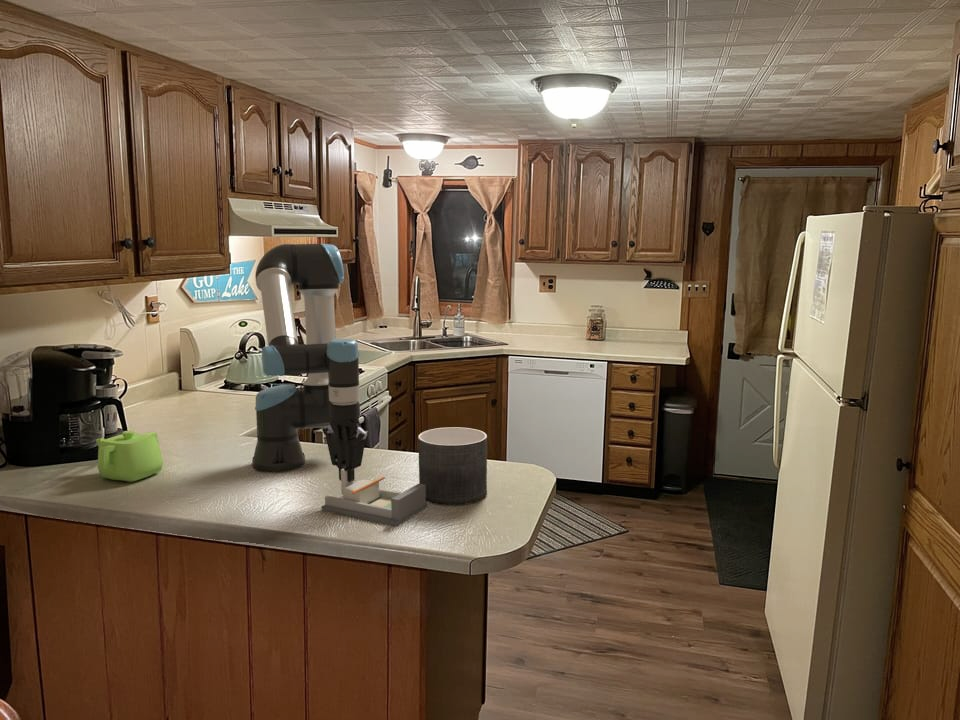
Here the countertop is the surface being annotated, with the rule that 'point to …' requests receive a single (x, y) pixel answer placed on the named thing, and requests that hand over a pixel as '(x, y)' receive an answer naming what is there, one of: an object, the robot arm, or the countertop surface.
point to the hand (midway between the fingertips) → (347, 493)
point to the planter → (453, 465)
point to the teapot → (129, 456)
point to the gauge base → (382, 505)
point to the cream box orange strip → (362, 491)
